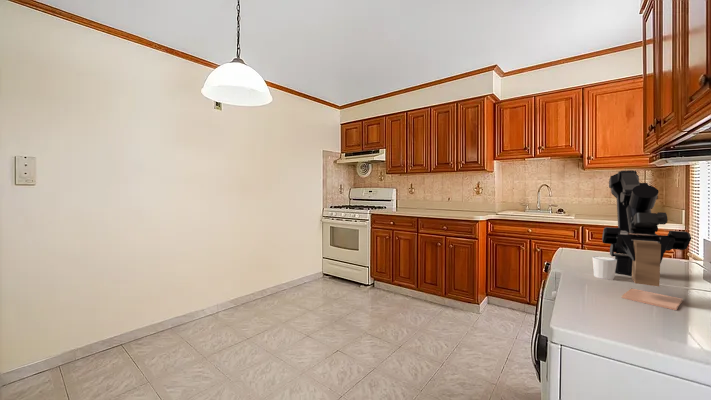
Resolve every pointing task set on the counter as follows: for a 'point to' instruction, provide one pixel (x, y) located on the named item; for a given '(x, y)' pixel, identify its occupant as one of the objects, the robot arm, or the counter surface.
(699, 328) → the counter surface
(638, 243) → the walnut block
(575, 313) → the counter surface
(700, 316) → the counter surface
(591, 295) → the counter surface
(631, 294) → the terracotta tile
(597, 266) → the white cup
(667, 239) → the robot arm
